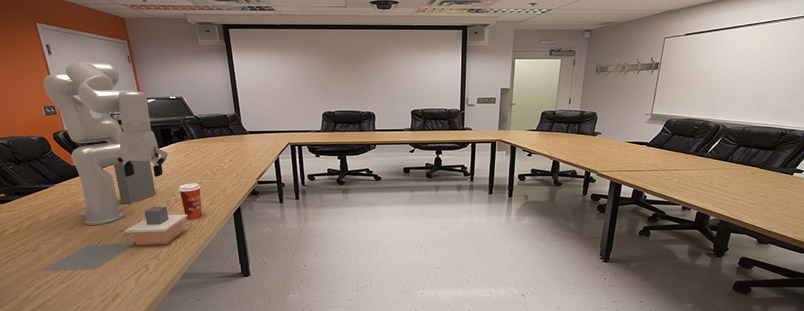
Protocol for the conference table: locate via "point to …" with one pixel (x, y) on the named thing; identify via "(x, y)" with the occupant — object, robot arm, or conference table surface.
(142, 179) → the tall grey upright block
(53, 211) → the conference table surface
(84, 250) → the mat
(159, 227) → the cover
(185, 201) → the paper cup
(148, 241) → the open box
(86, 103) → the robot arm
